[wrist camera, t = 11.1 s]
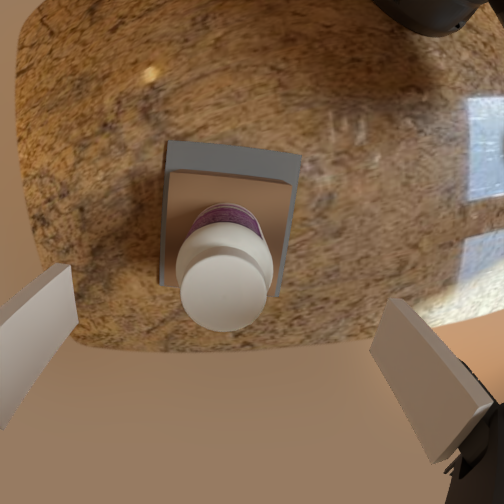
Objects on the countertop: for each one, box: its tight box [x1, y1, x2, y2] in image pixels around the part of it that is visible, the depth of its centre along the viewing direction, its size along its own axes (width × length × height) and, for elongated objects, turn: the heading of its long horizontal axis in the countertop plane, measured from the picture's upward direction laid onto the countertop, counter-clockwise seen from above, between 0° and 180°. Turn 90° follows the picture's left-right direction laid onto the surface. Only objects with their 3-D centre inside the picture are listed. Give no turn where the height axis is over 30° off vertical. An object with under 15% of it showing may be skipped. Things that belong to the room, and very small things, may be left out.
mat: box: [160, 140, 302, 297], centre depth 27 cm, size 14×12×1 cm
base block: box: [164, 169, 292, 296], centre depth 25 cm, size 9×9×5 cm
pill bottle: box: [176, 203, 273, 332], centre depth 18 cm, size 5×5×10 cm
